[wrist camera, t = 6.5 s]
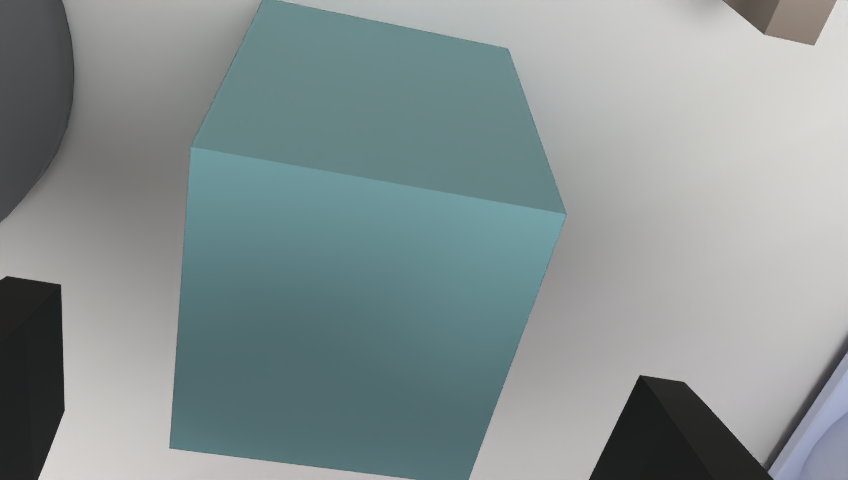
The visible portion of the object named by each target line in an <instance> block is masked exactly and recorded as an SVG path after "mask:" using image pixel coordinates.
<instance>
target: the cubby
mask: <svg viewBox="0 0 848 480" xmlns="http://www.w3.org/2000/svg"><path fill="white" fill-rule="evenodd" d="M723 1H724V2H725V3H727V4H728V5H729V6H730V7H731V8H733V9H734V10H735V11H736V12H737V13H739V14H740V15H741V16H742V17H744V18H745V19H746V20H747V21H748V22H750V23H751V24H752V25H753V26H754V27H756V28H757V29H758V30H759V31H760V32H762V33H763V34H764V35H768V36H773V37H777V38H782V39H786V40H791V41H795V42H800V43H804V44H809V45H813V46H814V45H815V43H816V41H817V39H818V37H819V35H820V33H821V31H822V29H823V27H824V25H825V23H826V21H827V19H828V17H829V15H830V13H831V11H832V9H833V7H834V5H835V3H836V1H837V0H723Z"/></svg>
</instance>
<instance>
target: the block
mask: <svg viewBox="0 0 848 480" xmlns="http://www.w3.org/2000/svg"><path fill="white" fill-rule="evenodd" d="M565 217H566V211H565V209H564V206H563V203H562V200H561V197H560V194H559V192H558V189H557V186H556V183H555V180H554V177H553V175H552V172H551V169H550V166H549V163H548V160H547V158H546V155H545V152H544V149H543V146H542V143H541V141H540V138H539V135H538V132H537V129H536V126H535V123H534V121H533V118H532V115H531V112H530V109H529V106H528V104H527V101H526V98H525V95H524V92H523V89H522V87H521V84H520V81H519V78H518V75H517V72H516V70H515V67H514V64H513V61H512V58H511V55H510V53H509V50H508V49H507V48H502V47H497V46H493V45H488V44H483V43H478V42H474V41H469V40H464V39H459V38H454V37H450V36H445V35H440V34H435V33H430V32H426V31H421V30H416V29H411V28H407V27H402V26H397V25H392V24H387V23H383V22H378V21H373V20H368V19H364V18H359V17H354V16H349V15H344V14H340V13H335V12H330V11H325V10H320V9H316V8H311V7H306V6H301V5H297V4H292V3H287V2H282V1H277V0H263V1H262V3H261V5H260V7H259V9H258V11H257V13H256V15H255V17H254V19H253V21H252V23H251V25H250V27H249V29H248V31H247V33H246V35H245V37H244V39H243V41H242V43H241V45H240V47H239V49H238V51H237V53H236V55H235V58H234V60H233V62H232V64H231V66H230V68H229V70H228V72H227V74H226V76H225V78H224V80H223V82H222V84H221V86H220V88H219V90H218V92H217V94H216V96H215V98H214V100H213V102H212V104H211V106H210V108H209V110H208V112H207V114H206V116H205V118H204V120H203V122H202V124H201V127H200V129H199V131H198V133H197V135H196V137H195V139H194V141H193V143H192V145H191V147H190V162H189V176H188V190H187V204H186V219H185V233H184V247H183V261H182V276H181V290H180V304H179V318H178V333H177V347H176V361H175V376H174V390H173V404H172V418H171V433H170V447H169V448H170V449H178V450H186V451H194V452H202V453H210V454H218V455H226V456H234V457H242V458H250V459H258V460H266V461H273V462H281V463H289V464H297V465H305V466H313V467H321V468H329V469H337V470H345V471H353V472H361V473H369V474H376V475H384V476H392V477H400V478H408V479H416V480H468V479H469V477H470V474H471V471H472V469H473V466H474V463H475V461H476V458H477V455H478V452H479V450H480V447H481V444H482V442H483V439H484V436H485V433H486V431H487V428H488V425H489V423H490V420H491V417H492V415H493V412H494V409H495V406H496V404H497V401H498V398H499V396H500V393H501V390H502V388H503V385H504V382H505V379H506V377H507V374H508V371H509V369H510V366H511V363H512V360H513V358H514V355H515V352H516V350H517V347H518V344H519V342H520V339H521V336H522V333H523V331H524V328H525V325H526V323H527V320H528V317H529V314H530V312H531V309H532V306H533V304H534V301H535V298H536V296H537V293H538V290H539V287H540V285H541V282H542V279H543V277H544V274H545V271H546V269H547V266H548V263H549V260H550V258H551V255H552V252H553V250H554V247H555V244H556V241H557V239H558V236H559V233H560V231H561V228H562V225H563V223H564V220H565Z"/></svg>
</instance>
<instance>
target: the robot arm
mask: <svg viewBox="0 0 848 480" xmlns="http://www.w3.org/2000/svg"><path fill="white" fill-rule="evenodd" d="M64 411H65V407H64V372H63V336H62V301H61V285H60V284H54V283H47V282H41V281H35V280H28V279H22V278H15V277H9V276H6V277H5V278H3V279H2V280H0V480H38V478H39V476H40V473H41V471H42V468H43V466H44V463H45V461H46V458H47V456H48V453H49V450H50V448H51V445H52V442H53V440H54V437H55V435H56V432H57V429H58V427H59V424H60V421H61V419H62V416H63V413H64ZM589 480H848V352H847V353H846V355H845V356H844V358H843V359H842V361H841V362H840V364H839V365H838V367H837V368H836V370H835V371H834V373H833V374H832V376H831V377H830V379H829V380H828V382H827V383H826V385H825V386H824V388H823V389H822V391H821V392H820V394H819V395H818V397H817V398H816V400H815V401H814V403H813V404H812V406H811V407H810V409H809V411H808V412H807V414H806V415H805V417H804V418H803V420H802V421H801V423H800V424H799V426H798V427H797V429H796V430H795V432H794V433H793V435H792V436H791V438H790V439H789V441H788V442H787V444H786V445H785V447H784V448H783V450H782V451H781V453H780V454H779V456H778V457H777V459H776V460H775V462H774V463H773V465H772V466H771V468H770V469H769V471H768V472H767V471H766V470H765V469H764V468H763V467H762V466H761V465H760V464H759V463H758V461H757V460H756V459H755V458H754V457H753V456H752V455H751V454H750V453H749V451H748V450H747V449H746V448H745V447H744V446H743V445H742V444H741V443H740V441H739V440H738V439H737V438H736V437H735V436H734V435H733V434H732V433H731V431H730V430H729V429H728V428H727V427H726V426H725V425H724V424H723V423H722V421H721V420H720V419H719V418H718V417H717V416H716V415H715V414H714V413H713V412H712V410H711V409H710V408H709V407H708V406H707V405H706V404H705V403H704V402H703V401H702V400H701V399H700V398H699V397H698V396H697V395H696V394H695V393H694V392H693V391H692V390H691V389H690V387H689V386H688V385H687V384H685V383H684V382H681V381H674V380H668V379H661V378H655V377H649V376H642V375H640V376H639V378H638V380H637V382H636V384H635V386H634V388H633V390H632V392H631V394H630V396H629V399H628V401H627V403H626V405H625V407H624V409H623V411H622V413H621V415H620V417H619V419H618V421H617V423H616V425H615V427H614V429H613V431H612V433H611V435H610V437H609V440H608V442H607V444H606V446H605V448H604V450H603V452H602V454H601V456H600V458H599V460H598V462H597V464H596V466H595V468H594V470H593V472H592V474H591V476H590V479H589Z"/></svg>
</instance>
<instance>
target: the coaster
mask: <svg viewBox="0 0 848 480" xmlns="http://www.w3.org/2000/svg"><path fill="white" fill-rule="evenodd" d="M73 81H74V66H73V55H72V43H71V38H70V33H69V29H68V24H67V20H66V15H65V11H64V7H63V5H62V2H61V0H0V222H1V221H2V220H3V219H5V218H6V217H7V216H8V215H9V214H10V213H11V212H12V211H13V209H14V208H15V207H16V206H17V205H18V204H19V203H20V202H21V200H22V199H23V198H24V197H25V196H26V194H27V193H28V192H29V191H30V189H31V188H32V187H33V186H34V184H35V183H36V182H37V181H38V179H39V178H40V177H41V176H42V174H43V173H44V172H45V170H46V168H47V167H48V165H49V164H50V162H51V160H52V159H53V157H54V155H55V154H56V152H57V150H58V148H59V145H60V143H61V140H62V138H63V135H64V133H65V130H66V128H67V123H68V119H69V114H70V109H71V105H72V98H73Z"/></svg>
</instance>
